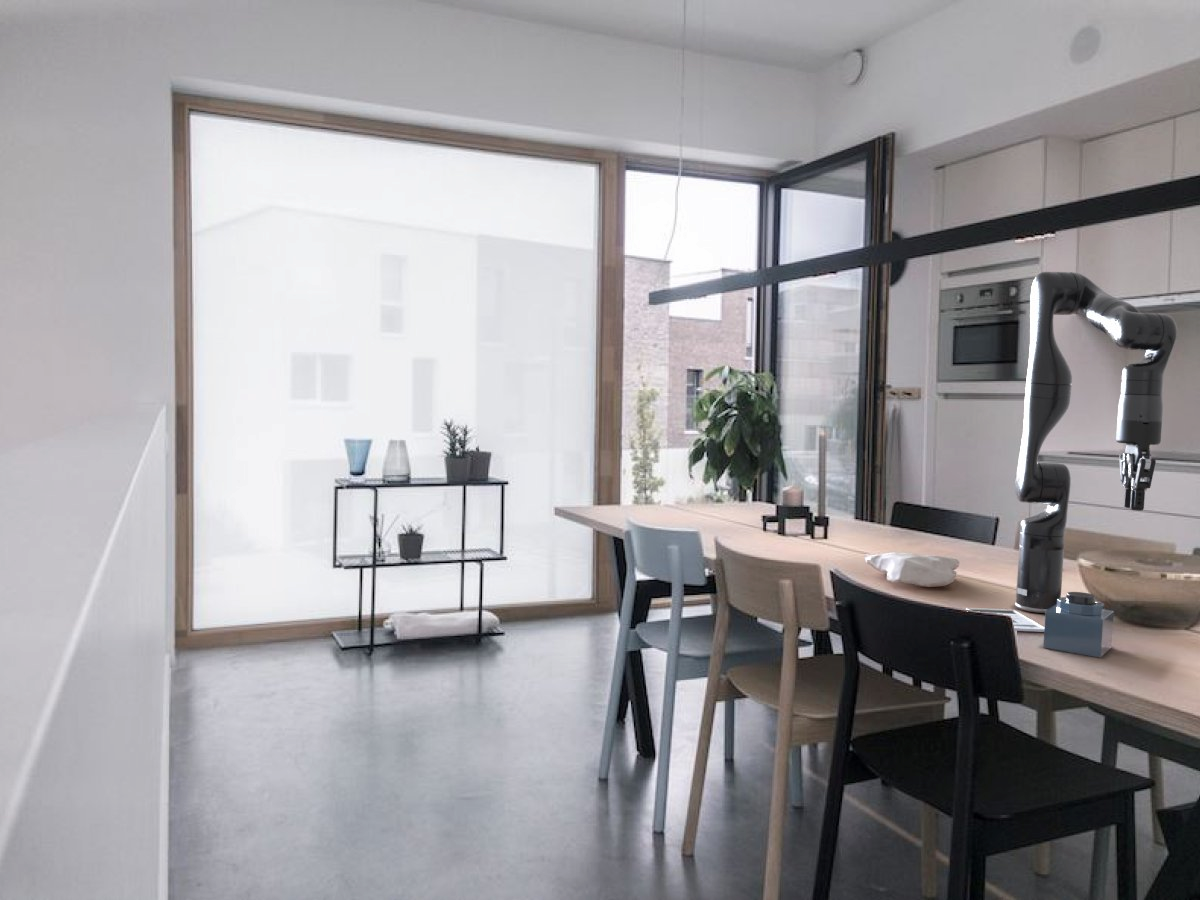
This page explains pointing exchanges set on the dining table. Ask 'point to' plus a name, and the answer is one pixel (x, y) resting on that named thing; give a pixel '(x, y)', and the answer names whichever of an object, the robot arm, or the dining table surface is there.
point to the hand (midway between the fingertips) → (1133, 508)
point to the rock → (915, 568)
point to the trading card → (1015, 619)
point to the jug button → (1080, 598)
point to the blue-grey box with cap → (1078, 628)
